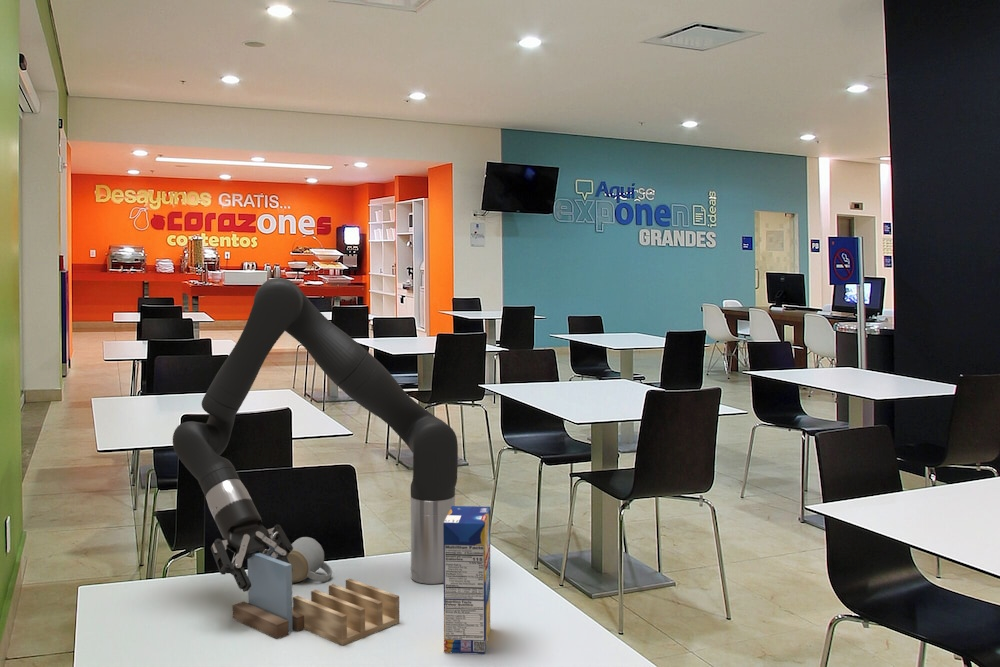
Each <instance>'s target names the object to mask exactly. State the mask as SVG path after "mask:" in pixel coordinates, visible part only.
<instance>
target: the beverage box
mask: <svg viewBox="0 0 1000 667" xmlns="http://www.w3.org/2000/svg"><path fill="white" fill-rule="evenodd" d="M443 536H444V583H443V653H444V652H448V653H447V654H462V653H482V654H481V655H485V654H486V651H487V645H488V642H487V641H488V640H489V637H488V636H490V631H491V506H479V505H478V506H477V505H476V506H473V505H472V506H471V505H467V506H466V505H455V506H452V507H451V509H450V511H449V513H448V515H447V517H446V519H445V521H444V523H443ZM485 650H486V651H485ZM450 652H452V653H450ZM484 653H485V654H484Z"/></svg>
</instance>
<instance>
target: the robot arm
mask: <svg viewBox="0 0 1000 667" xmlns="http://www.w3.org/2000/svg"><path fill="white" fill-rule="evenodd" d="M251 307H252V308H251V310H250V313H249V315H248V317H247V321H246V323H245V326H244V327H243V330H242V332H241V335H240V336H239V338H238V340H237V342H236V343H235V345H234V347H233V348H232V350H231V352H230V353H229V354H228V356H227V358H226V359H225V360H224V362H223V364H222V365H221V366H220V369H218V371H217V373H216V374H215V376H214V377H213V380H212V381H211V384H210V385H209V387H208V389H207V391H206V392H205V394H204V395H203V398H202V399H201V400H202V401H201V407H202V409H203V411H204V412H206V414H208V418H207V421H206V423H205V422H199V421H192V420H191V421H185V422H182V423H180V424H179V425H177V427H176V428H175V429H174V431H173V434H172V447H173V450H174V453H175V454H176V456H177V457H178V459H179V460H180V461H181V463H182V464H183V466H184V467H185V468H186V469H187V471H189V472H190V474H191V475H192V476H193V477H194V478H195V479H196V480H197V481H198V485H199V486H200V488H201V491H202V492H203V495H204V497H205V499H206V503H207V506H208V509H209V511H210V513H211V515H212V517H213V520H214V522H215V524H216V526H217V528H218V531H219V532H220V534H221V536H222V539H221V538H216V539H215V540H214V542H213V543H212V545H211V547H210V550H211V553H212V555H213V558H214V561H215V563H216V567H217V569H218V571H219V574H220V575H226V574H230V575H231V576H233V578H234V581H235V582H236V584H237V586H238V588H239V589H240V590H242V591H243V592H248V590H249V589H250V587H251V582H250V580H249V578H248V573H247V572H246V570H245V568H244V567H243V562H244V559H245V560H248V559H249V558H250V557H251V556H252V554H254V553H261V554H264V555H267V556H270V557H272V558H275V559H278V560H281V561H283V562H286V563H289V561H288V559H287V556H288V555H289V553H290V552H291V551H292V550H293V546H292V545H291V544H292V543H291V541H290V539H289V538H288V537H287V534H286V533H285V531H284V529H283V528H282V525H280V524H278V523H276V524H275V525H274V527H272V528H268V529H267V528H266V527H264V525H263V520H262V517H261V515H260V514H259V513H260V512H258V511H259V510H257V507H256V505H255V503H254V501H253V499H252V497H251V495H250V494H249V491H248V489H247V488H246V487H245V486H246V485H244V483H243V482H242V481H241V480H242V479H241V478H240V476H239V474H238V472H237V471H236V468H235V466H234V464H233V463H232V462H231V461H230V460H229V459H227V458H226V457H223V456H221V455H222V454H223V453H224V451H225V450H226V448H227V447H228V445H229V442H230V440H231V439H230V438H231V435H232V431H233V428H234V424H235V420H236V415H237V414H238V412H239V410H240V408H241V406H242V405H243V403H244V401H245V400H246V398H247V396H248V394H249V392H250V390H251V389H252V387H253V385H254V382H255V381H256V379H257V377H258V374H259V372H260V370H261V368H262V366H263V364H264V363H265V360H266V359H267V357H268V355H269V353H270V352H271V351H272V349H273V348H274V346H275V345H276V343H277V341H278V340H279V339H280V338H281V336H282V335H283V334H284V332H286V333H287V334H288V335H289V336H291V337H292V338H293V339H295V340H296V341H297V342H298V343H299V344H300V345H302V347H303V348H304V349H305V350H306V351H307V353H308V354H310V356H311V358H312V359H313V360H314V362H315V363H316V364H317V366H318V367H319V368H320V369H321V370H322V371H323V372H324V374H325V375H326V376H327V377H328V378H329V379H330V380H331V381H332V382H333V383H334V384H335V385H336V386H337V387H338V388H339V389H340V390H341V391H343V393H345V394H346V395H347V396H348V397H349V398H350V399H351V400H353V401H354V402H355V403H357V404H358V405H360V407H362V408H364V409H365V410H367V411H369V412H370V413H371V414H373V415H375V416H376V417H378V418H380V419H381V420H382V421H384V422H385V423H386V424H387V425H388V426H389V427H390V428H391V429H392V430H393V431H394V432H395V434H396V435H397V436H398V437H399V438H400V439H401V440H402V441H403V442H404V444H405V445H406V446H407V447H408V448H409V451H411V452H412V457H413V458H412V481H411V483H410V578H411V579H412V580H413V581H414V582H416V583H420V584H426V585H427V584H430V585H433V584H434V585H435V584H442V583H443V584H444V536H443V523H444V521H445V519H446V517H447V515H448V513H449V511H450V509H451V507H452V506H456V486H457V483H458V482H457V481H458V469H459V468H458V465H459V463H458V462H459V459H458V458H459V449H458V448H459V446H458V439H457V435H456V432H455V430H454V429H453V428H452V427H451V426H450V425H449V424H448V423H446V422H445V421H444V420H442V419H441V418H438V417H437V416H435V415H434V414H433V413H431V412H429V411H428V410H427V409H426V408H424V407H423V406H422V405H420V404H419V403H418V402H417V401H415V400H414V399H413V398H412V397H411V396H410V395H409V394H408V393H407V392H406V391H405V390H404V389H403V387H402V386H401V385H400V384H399V383H398V380H396V379H395V378H394V376H393V375H392V374H391V373H390V372H389V370H388V369H387V368H386V367H385V366H384V365H383V364H382V363H381V362H380V361H379V360H378V359H376V357H374V356H373V354H371V353H370V352H369V351H368V350H367V349H365V348H364V347H363V346H362V345H361V344H359V342H358V341H356V340H355V339H354V338H353V337H351V336H350V335H349V334H347V333H346V332H344V331H343V330H342V329H340V328H339V327H338V326H336V325H335V324H334V323H333V322H331V321H330V320H329V319H328V318H327V317H326V316H325V315H324V314H323V313H322V312H321V311H320V310H319V309H318V308H317V307H316V306H315V305H314V304H313V303H312V302H311V300H310V299H309V298H308V297H307V296H306V295H305V293H304V292H303V291H302V289H301V288H300V287H299V286H298V285H297V284H296V283H295V282H293V281H292V280H290V279H287V278H285V277H273V278H270V279H267V280H266V281H265V282H263V283H262V284H261V285H260V287H259V288H258V289H257V290H256V292H255V295H254V297H253V304H252V306H251ZM267 547H269V548H268V549H267ZM227 549H228V550H229V551H231V552H232V553H234V554H233V557H232V560H230V557H229V555H228V552H227ZM289 564H290V563H289ZM292 571H293V570H292Z"/></svg>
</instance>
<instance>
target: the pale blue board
mask: <svg viewBox="0 0 1000 667" xmlns="http://www.w3.org/2000/svg"><path fill="white" fill-rule="evenodd" d="M247 576H248V578H249V580H250V582H251V587H250V589H249V590H248V591H247V595H248V596H247V598H248V599H247V601H248V602H247V603H249V604H251V605H253V606H256V607H258V608H260V609H263V610H265V611H267V612H269V613H272V614H274V615H276V616H279V617H281V618H283V619H286V620H288V621H289V633H291V632H293V631H294V630H293V622H292V607H293V583H292V564H289V563H286V562H283V561H281V560H278V559H275V558H272V557H270V556H267V555H264V554H261V553H254V554H252V556H251V557H250V558H249V559H247Z"/></svg>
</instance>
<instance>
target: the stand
mask: <svg viewBox="0 0 1000 667" xmlns="http://www.w3.org/2000/svg"><path fill="white" fill-rule="evenodd" d="M231 606H232V610H231V611H232V619H233V620H235V621H237V622H239V623H242V624H244V625H246V626H248V627H250V628H252V629H254V630H256V631H259V632H260V633H261V632H262V633H263V634H266V635H268V636H269V637H272V638H274V639H276V640H278V639H281V638H284V637H287V636H289V634H290V632H289V621H288V620H286V619H283V618H281V617H279V616H276V615H274V614H272V613H269V612H267V611H265V610H263V609H260V608H258V607H256V606H253V605H251V604H249V603H248V602H246V601H240V602H239V603H233V604H232V605H231ZM292 622H293V631H295V632H300V631H304V630H305V629H304V615H302V614H300V613H297V612H295V611H293V606H292Z"/></svg>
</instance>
